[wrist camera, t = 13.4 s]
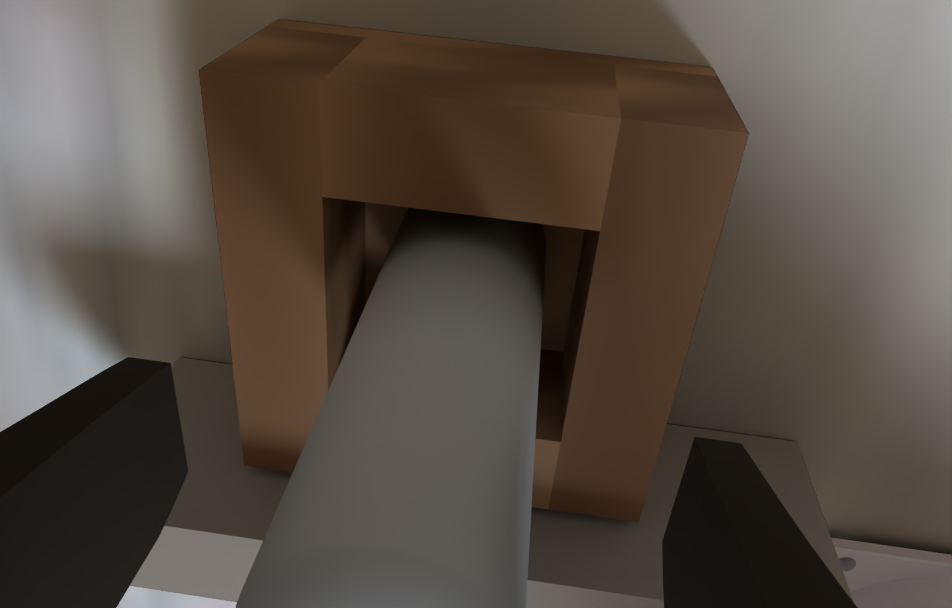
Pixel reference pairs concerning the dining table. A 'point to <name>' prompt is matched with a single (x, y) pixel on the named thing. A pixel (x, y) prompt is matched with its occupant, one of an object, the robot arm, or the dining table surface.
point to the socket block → (479, 194)
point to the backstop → (551, 532)
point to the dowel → (422, 434)
